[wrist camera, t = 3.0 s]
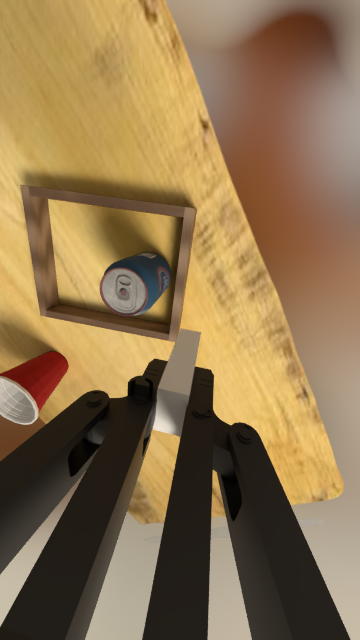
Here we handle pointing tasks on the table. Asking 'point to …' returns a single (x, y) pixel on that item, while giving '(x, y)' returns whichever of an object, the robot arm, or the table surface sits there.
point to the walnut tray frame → (45, 264)
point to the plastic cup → (30, 386)
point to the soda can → (135, 283)
